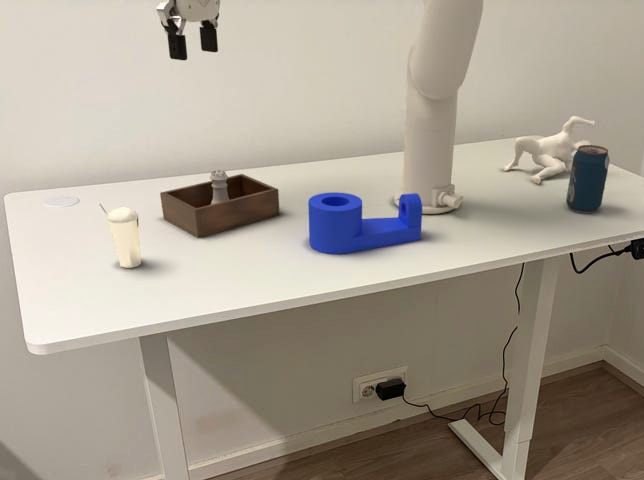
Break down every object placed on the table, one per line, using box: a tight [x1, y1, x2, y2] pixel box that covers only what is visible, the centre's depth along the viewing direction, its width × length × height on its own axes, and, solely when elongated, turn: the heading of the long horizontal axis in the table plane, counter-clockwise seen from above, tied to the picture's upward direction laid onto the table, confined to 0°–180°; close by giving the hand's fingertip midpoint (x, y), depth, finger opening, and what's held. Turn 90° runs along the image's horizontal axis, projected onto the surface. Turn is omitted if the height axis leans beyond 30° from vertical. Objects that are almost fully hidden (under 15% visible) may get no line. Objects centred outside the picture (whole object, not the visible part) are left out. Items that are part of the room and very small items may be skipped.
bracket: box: [307, 191, 423, 255], centre depth 127 cm, size 20×9×8 cm, turn 111°
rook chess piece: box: [209, 169, 229, 205], centre depth 134 cm, size 4×4×8 cm
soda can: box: [565, 144, 610, 214], centre depth 145 cm, size 7×7×12 cm
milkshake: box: [99, 203, 142, 269], centre depth 114 cm, size 4×5×10 cm
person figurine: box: [503, 115, 596, 185], centre depth 165 cm, size 13×13×18 cm
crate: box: [159, 173, 281, 239], centre depth 135 cm, size 18×12×5 cm, turn 135°
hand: (194, 55), depth 130 cm, fingers open, 9 cm apart
